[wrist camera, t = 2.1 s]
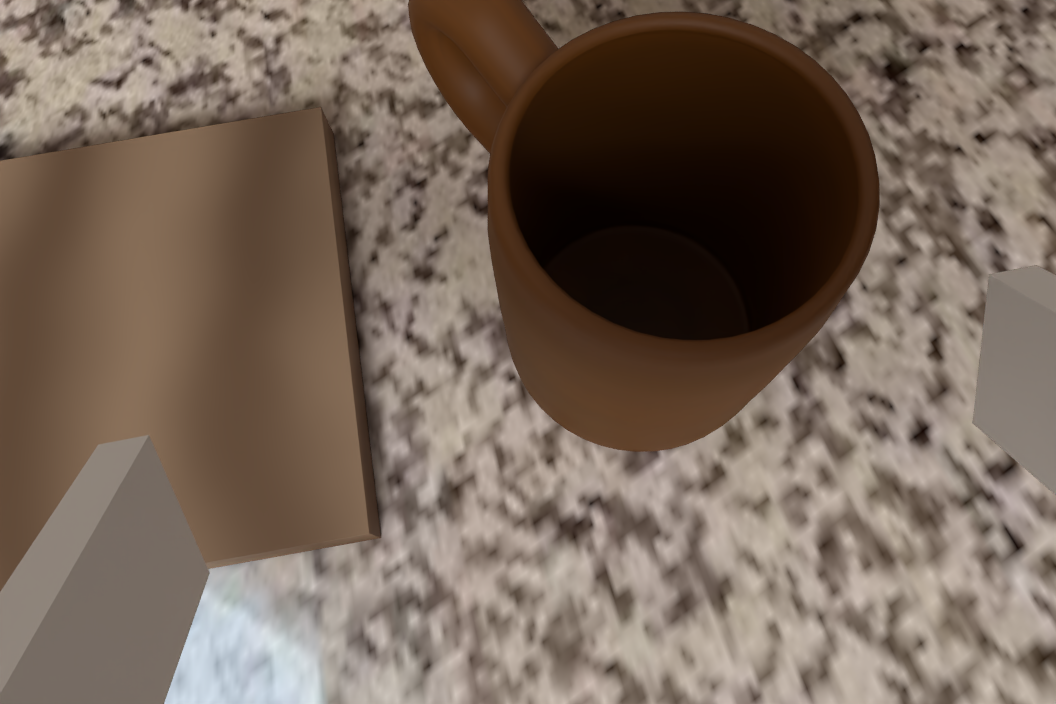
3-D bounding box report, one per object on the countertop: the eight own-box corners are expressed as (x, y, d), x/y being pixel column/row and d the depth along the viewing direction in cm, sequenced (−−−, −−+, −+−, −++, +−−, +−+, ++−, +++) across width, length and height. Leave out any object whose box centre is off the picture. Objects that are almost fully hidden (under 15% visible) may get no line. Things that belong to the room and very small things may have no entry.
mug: (363, 225, 25) (259, 19, 16) (544, 82, 27) (539, -181, 18) (631, 515, 23) (683, 457, 14) (818, 339, 24) (979, 180, 15)
